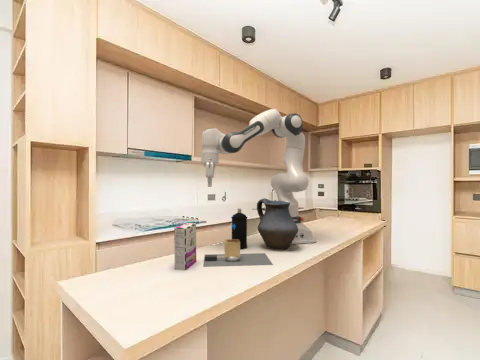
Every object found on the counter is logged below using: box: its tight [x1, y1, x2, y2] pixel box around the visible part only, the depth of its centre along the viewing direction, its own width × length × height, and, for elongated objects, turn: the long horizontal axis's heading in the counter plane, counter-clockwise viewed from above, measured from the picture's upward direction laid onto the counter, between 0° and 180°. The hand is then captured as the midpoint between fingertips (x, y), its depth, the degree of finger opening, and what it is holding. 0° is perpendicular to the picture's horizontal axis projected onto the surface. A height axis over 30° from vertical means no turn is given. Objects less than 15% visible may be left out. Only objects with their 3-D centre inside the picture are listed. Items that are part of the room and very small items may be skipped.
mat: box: [202, 252, 274, 268], centre depth 112 cm, size 28×17×1 cm, turn 96°
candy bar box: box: [173, 222, 197, 271], centre depth 104 cm, size 11×5×16 cm, turn 168°
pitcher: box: [256, 198, 298, 251], centre depth 134 cm, size 21×22×25 cm
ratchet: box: [204, 253, 240, 262], centre depth 111 cm, size 15×7×5 cm, turn 96°
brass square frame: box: [224, 238, 241, 257], centre depth 112 cm, size 6×6×6 cm
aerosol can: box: [230, 208, 248, 251], centre depth 132 cm, size 8×8×20 cm
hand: (209, 186), depth 134 cm, fingers open, 8 cm apart
